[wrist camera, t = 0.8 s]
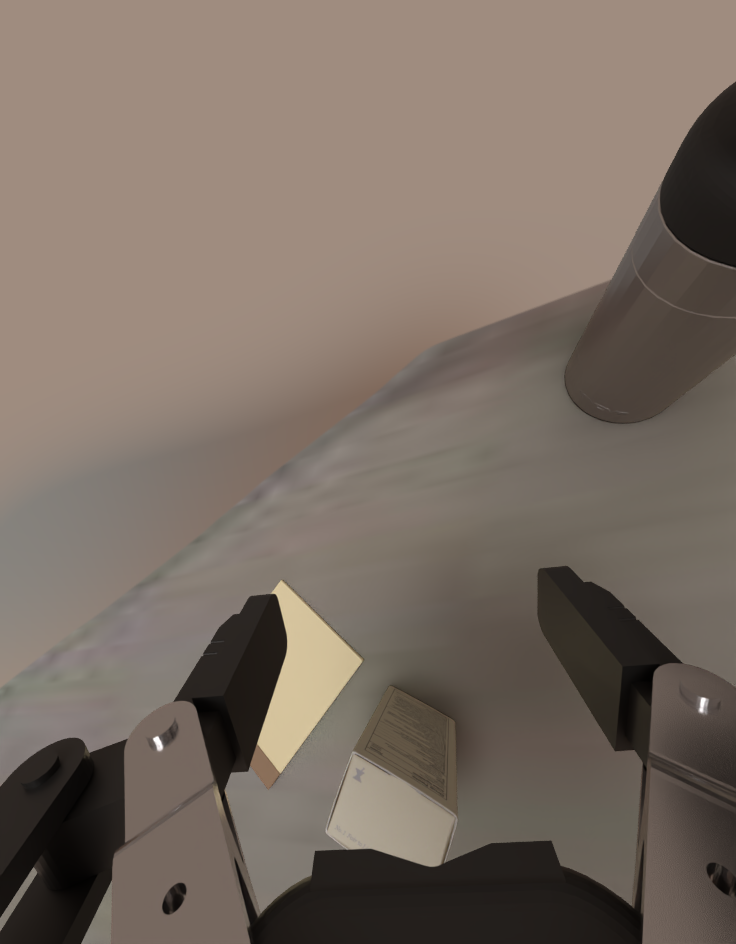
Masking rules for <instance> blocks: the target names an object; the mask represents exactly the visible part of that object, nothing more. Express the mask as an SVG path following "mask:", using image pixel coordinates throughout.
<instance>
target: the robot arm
mask: <svg viewBox="0 0 736 944" xmlns="http://www.w3.org/2000/svg"><path fill="white" fill-rule="evenodd" d="M735 354H736V82H735V83H733V84H732V85H731V86H729V87H728V88H727V89H726V90H724V91H723V92H722V93H721V94H720V95H719V96H718V97H717V98H716V99H715V100H714V101H713V102H711V103H710V104H709V106H708V107H707V108H706V109H705V110H704V111H703V113H702V114H701V115H700V116H699V117H698V119H697V120H696V122H695V123H694V125H693V126H692V128H691V129H690V130H689V132H688V134H687V136H686V137H685V139H684V141H683V142H682V144H681V146H680V148H679V150H678V152H677V154H676V156H675V158H674V160H673V162H672V163H671V165H670V167H669V169H668V171H667V173H666V175H665V177H664V180H663V181H662V183H661V185H660V187H659V189H658V191H657V193H656V195H655V197H654V199H653V200H652V202H651V204H650V206H649V208H648V210H647V212H646V214H645V216H644V218H643V220H642V222H641V223H640V226H639V227H638V229H637V231H636V234H635V236H634V238H633V239H632V242H631V243H630V245H629V247H628V249H627V251H626V253H625V255H624V257H623V259H622V261H621V262H620V265H619V266H618V268H617V270H616V272H615V274H614V276H613V278H612V280H611V282H610V284H609V285H608V287H607V289H606V291H605V293H604V295H603V297H602V299H601V301H600V303H599V305H598V307H597V308H596V310H595V312H594V314H593V316H592V318H591V320H590V322H589V324H588V326H587V328H586V329H585V331H584V333H583V335H582V337H581V339H580V341H579V343H578V345H577V346H576V348H575V350H574V352H573V354H572V356H571V358H570V360H569V362H568V365H567V367H566V372H565V383H566V388H567V390H568V393H569V395H570V397H571V398H572V399H573V401H574V402H575V403H576V404H577V405H578V406H579V407H580V408H581V409H582V410H583V411H585V412H587V413H588V414H590V415H591V416H594V417H596V418H599V419H601V420H604V421H609V422H614V423H631V422H638V421H642V420H645V419H648V418H651V417H653V416H655V415H657V414H658V413H660V412H662V411H663V410H664V409H666V408H667V407H668V406H669V405H671V404H672V403H673V402H675V401H676V400H677V399H678V398H680V397H681V396H682V395H684V394H685V393H686V392H688V391H689V390H690V389H692V388H693V387H694V386H695V385H697V384H698V383H699V382H701V381H702V380H703V379H704V378H706V377H707V376H708V375H709V374H711V373H712V372H713V371H715V370H716V369H717V368H718V367H720V366H721V365H722V364H724V363H725V362H726V361H727V360H729V359H730V358H731V357H732V356H734V355H735ZM538 619H539V623H540V627H541V629H542V632H543V634H544V636H545V637H546V639H547V641H548V642H549V644H550V646H551V647H552V649H553V650H554V652H555V654H556V655H557V657H558V659H559V660H560V662H561V664H562V665H563V667H564V669H565V670H566V672H567V673H568V675H569V677H570V678H571V680H572V682H573V683H574V685H575V687H576V688H577V690H578V691H579V693H580V695H581V696H582V698H583V700H584V701H585V703H586V705H587V706H588V708H589V709H590V711H591V713H592V714H593V716H594V718H595V719H596V721H597V723H598V724H599V726H600V727H601V729H602V731H603V732H604V734H605V736H606V737H607V739H608V741H609V742H610V744H611V745H612V747H613V749H614V750H615V751H625V750H635V751H636V753H637V754H638V756H639V757H640V759H641V760H642V762H643V765H642V774H641V789H640V804H639V818H638V833H637V848H636V862H635V874H634V884H633V895H632V906H631V905H629V904H628V903H627V902H626V901H625V900H623V899H622V898H621V897H619V896H618V895H616V894H615V893H614V892H612V891H611V890H609V889H608V888H607V887H605V886H603V885H602V884H600V883H598V882H596V881H595V880H593V879H591V878H589V877H588V876H586V875H583V874H581V873H579V872H577V871H574V870H572V869H570V868H566V867H563V866H560V863H559V861H558V858H557V855H556V852H555V850H554V847H553V844H552V841H533V842H510V843H491V844H488V845H486V846H484V847H481V848H479V849H477V850H474V851H472V852H469V853H467V854H465V855H462V856H460V857H458V858H455V859H453V860H451V861H448V862H446V863H443V864H441V865H439V866H435V867H429V866H425V865H421V864H418V863H415V862H412V861H409V860H406V859H402V858H399V857H396V856H393V855H390V854H387V853H384V852H380V851H377V850H374V849H349V850H326V851H315V855H314V862H313V870H312V876H309V877H307V878H305V879H303V880H301V881H300V882H298V883H296V884H295V885H293V886H291V887H290V888H288V889H287V890H286V891H285V892H283V893H282V894H281V895H280V896H278V897H277V898H276V899H275V900H274V901H273V902H272V903H271V904H270V905H269V906H268V907H267V908H266V909H265V910H264V911H263V912H262V913H261V912H260V909H259V906H258V903H257V899H256V896H255V893H254V890H253V887H252V884H251V880H250V877H249V873H248V870H247V866H246V863H245V859H244V855H243V852H242V848H241V844H240V841H239V837H238V833H237V830H236V826H235V822H234V819H233V815H232V811H231V808H230V804H229V800H228V797H227V794H226V791H225V787H226V785H227V782H228V779H229V777H230V774H231V772H248V770H249V767H250V764H251V761H252V758H253V755H254V752H255V749H256V746H257V743H258V739H259V736H260V733H261V730H262V727H263V724H264V721H265V718H266V715H267V712H268V709H269V706H270V703H271V700H272V697H273V694H274V691H275V687H276V684H277V681H278V678H279V675H280V672H281V669H282V666H283V663H284V660H285V657H286V653H287V633H286V629H285V625H284V621H283V617H282V613H281V609H280V605H279V600H278V597H277V596H276V594H266V595H256V596H250V597H249V598H248V600H247V602H246V604H245V605H244V607H243V609H242V611H241V612H240V614H234V615H232V616H231V617H230V618H229V619H228V620H227V621H226V622H225V623H224V624H222V625H221V626H220V627H219V629H218V630H217V632H216V634H215V635H214V637H213V639H212V640H211V644H209V645H208V647H207V648H206V650H205V652H204V653H203V654H204V655H203V656H201V658H200V660H199V661H198V663H197V664H196V666H195V668H194V669H193V671H192V673H191V674H190V676H189V677H188V679H187V681H186V682H185V684H184V686H183V687H182V689H181V690H180V692H179V694H178V695H177V697H176V698H175V700H174V702H172V703H169V704H166V705H164V706H162V707H160V708H158V709H156V710H155V711H153V712H152V713H151V714H149V715H148V716H147V717H146V718H144V719H143V720H142V721H141V722H140V723H139V724H138V725H137V726H136V728H135V729H134V730H133V732H132V733H131V735H130V736H129V738H128V739H126V740H123V741H121V742H118V743H115V744H112V745H110V746H107V747H104V748H102V749H99V750H96V751H93V752H91V753H89V752H88V750H87V748H86V746H85V744H84V742H83V741H82V740H81V739H79V738H67V739H63V740H60V741H57V742H55V743H53V744H50V745H49V746H47V747H45V748H43V749H42V750H40V751H38V752H37V753H35V754H34V755H33V756H31V757H30V758H28V759H27V760H26V761H25V762H24V763H22V764H21V765H20V766H19V767H18V768H17V769H16V770H15V771H14V772H13V773H12V774H11V775H10V776H9V777H8V778H7V780H6V781H5V782H4V783H3V784H2V785H1V787H0V917H1V916H2V914H3V913H4V911H5V910H6V908H7V907H8V905H9V904H10V902H11V900H12V899H13V897H14V896H15V894H16V893H17V891H18V890H19V888H20V887H21V885H22V884H23V882H24V881H25V879H26V878H27V876H28V874H29V873H30V871H31V870H32V868H33V867H34V868H35V869H36V871H37V875H36V876H35V878H34V880H33V881H32V883H31V884H30V886H29V887H28V889H27V891H26V892H25V894H24V895H23V897H22V898H21V900H20V902H19V903H18V905H17V906H16V908H15V909H14V911H13V913H12V914H11V916H10V917H9V919H8V920H7V922H6V924H5V925H4V927H3V928H2V930H1V931H0V944H81V943H82V941H83V938H84V936H85V934H86V932H87V930H88V928H89V926H90V924H91V922H92V920H93V918H94V916H95V914H96V912H97V910H98V907H99V905H100V903H101V901H102V899H103V897H104V895H105V893H106V891H107V889H108V887H109V885H110V883H111V881H112V923H111V944H736V688H735V687H734V686H733V685H731V684H730V683H729V682H727V681H725V680H724V679H722V678H721V677H719V676H717V675H715V674H713V673H711V672H709V671H706V670H704V669H701V668H698V667H695V666H691V665H687V664H683V663H682V662H681V661H680V660H679V659H678V658H677V657H676V656H675V655H674V654H673V653H672V652H671V651H670V650H669V649H668V648H667V647H666V646H665V645H663V644H662V643H661V642H660V641H659V640H658V639H657V638H656V637H655V636H654V635H653V634H652V633H651V632H650V631H649V630H648V629H647V628H646V627H645V626H644V625H643V624H642V623H641V622H640V621H639V620H636V617H635V616H634V615H633V614H632V613H631V612H630V611H629V610H628V609H627V608H626V609H625V608H624V605H623V604H622V603H621V602H620V601H619V600H618V599H617V598H616V597H615V596H613V595H612V594H611V593H610V592H609V591H607V590H605V589H603V588H602V587H600V586H598V585H596V584H594V583H593V582H583V581H582V580H581V579H580V578H579V577H578V576H577V575H576V574H575V573H574V572H573V571H572V569H571V568H569V567H568V566H561V567H551V568H541V569H539V571H538Z"/></svg>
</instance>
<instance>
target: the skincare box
mask: <svg viewBox="0 0 736 944" xmlns="http://www.w3.org/2000/svg"><path fill="white" fill-rule="evenodd" d="M457 823H458V807H457V768H456V726H455V721H454V720H453V719H451V718H449V717H447V716H446V715H444V714H442V713H440V712H439V711H437V710H435V709H433V708H432V707H430V706H428V705H426V704H424V703H423V702H421V701H419V700H417V699H415V698H414V697H412V696H410V695H408V694H406V693H404V692H402V691H400V690H398V689H396V688H395V687H393V686H389V687H388V689H387V690H386V692H385V694H384V696H383V697H382V699H381V701H380V703H379V705H378V707H377V708H376V710H375V712H374V714H373V715H372V717H371V719H370V721H369V723H368V724H367V726H366V728H365V730H364V732H363V733H362V735H361V737H360V739H359V741H358V742H357V744H356V746H355V748H354V750H353V751H352V754H351V757H350V759H349V762H348V764H347V767H346V770H345V772H344V775H343V778H342V780H341V783H340V786H339V789H338V791H337V794H336V797H335V800H334V803H333V806H332V809H331V812H330V815H329V818H328V821H327V825H326V829H325V831H326V834H328V835H329V836H330V837H331V838H333V839H334V840H335V841H336V842H338V843H339V844H340V845H341V846H342V847H344V848H345V849H346V850H349V849H374V850H377V851H380V852H384V853H387V854H390V855H393V856H396V857H399V858H402V859H406V860H409V861H412V862H415V863H418V864H421V865H425V866H429V867H435V866H439V865H441V864H443V863H445V861H446V858H447V855H448V852H449V849H450V846H451V843H452V839H453V836H454V833H455V829H456V826H457Z"/></svg>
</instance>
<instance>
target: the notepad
mask: <svg viewBox="0 0 736 944" xmlns="http://www.w3.org/2000/svg"><path fill="white" fill-rule="evenodd" d="M271 594H276V596H277V597H278V600H279V605H280V609H281V613H282V617H283V621H284V625H285V629H286V633H287V653H286V657H285V660H284V663H283V666H282V669H281V672H280V675H279V678H278V681H277V684H276V687H275V691H274V694H273V697H272V700H271V703H270V706H269V709H268V712H267V715H266V718H265V721H264V724H263V727H262V730H261V733H260V736H259V739H258V743H257V746H256V749H255V752H254V755H253V758H252V761H251V764H250V766H251V767H252V769H253V770H254V771H255V773H256V774H257V775H258V777H259V778H260V779H261V781H262V782H263V783H264V785H265V786H266V787H267V789H268V790H269V788H270V787H271V786H272V785H273V783H274V782H275V781H276V779H277V778H278V777H279V775H280V774H281V772H282V771H283V770H284V768H285V767H286V766H287V764H288V763H289V762H290V760H291V759H292V757H293V756H294V755H295V753H296V752H297V751H298V749H299V748H300V747H301V745H302V744H303V742H304V741H305V740H306V738H307V737H308V736H309V734H310V733H311V731H312V730H313V729H314V727H315V726H316V725H317V723H318V722H319V721H320V719H321V718H322V716H323V715H324V714H325V712H326V711H327V710H328V708H329V707H330V706H331V704H332V703H333V701H334V700H335V699H336V697H337V696H338V695H339V693H340V692H341V691H342V689H343V688H344V686H345V685H346V684H347V682H348V681H349V680H350V678H351V677H352V676H353V674H354V673H355V671H356V670H357V669H358V667H359V666H360V665H361V663H362V662H363V661H364V659H363V658H362V657H361V656H360V655H359V654H358V653H357V652H356V651H355V650H354V649H353V648H352V647H351V646H350V645H349V644H347V643H346V642H345V641H344V640H343V639H342V638H341V637H340V636H339V635H338V634H337V633H336V632H335V631H334V630H333V629H332V628H331V627H330V626H329V625H328V624H327V623H326V622H325V621H324V620H323V619H322V618H321V617H320V616H319V615H318V614H317V613H316V612H315V611H314V610H313V609H312V608H311V607H310V606H309V605H308V604H307V603H306V602H305V601H304V600H303V599H302V598H301V597H300V596H299V595H298V594H297V593H296V592H295V591H294V590H293V589H292V588H291V587H290V586H289V585H288V584H287V583H286V582H285V581H283V580H281V581H280V582H279V584H278V585H277V586H276V588H275V589H274V590H273V592H272V593H271Z"/></svg>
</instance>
